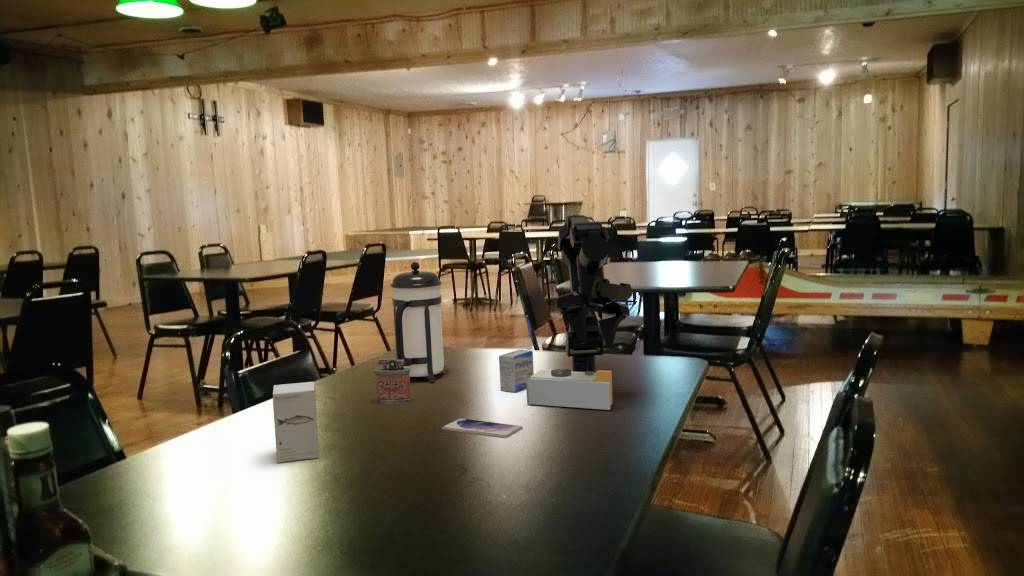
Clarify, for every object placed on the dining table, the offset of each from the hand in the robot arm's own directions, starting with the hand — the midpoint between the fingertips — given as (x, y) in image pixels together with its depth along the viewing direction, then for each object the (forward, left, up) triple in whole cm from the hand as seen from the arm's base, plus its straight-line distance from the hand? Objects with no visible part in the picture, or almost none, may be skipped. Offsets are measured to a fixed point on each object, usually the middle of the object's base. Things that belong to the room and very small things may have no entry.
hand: (596, 345), depth 155 cm
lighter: (+9, -45, -13) cm, 48 cm away
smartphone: (+22, -17, -13) cm, 31 cm away
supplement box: (+45, -43, -13) cm, 64 cm away
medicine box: (-9, -22, -13) cm, 27 cm away
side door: (+3, -6, -12) cm, 14 cm away
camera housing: (0, -7, -13) cm, 15 cm away
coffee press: (-12, -50, -13) cm, 53 cm away
